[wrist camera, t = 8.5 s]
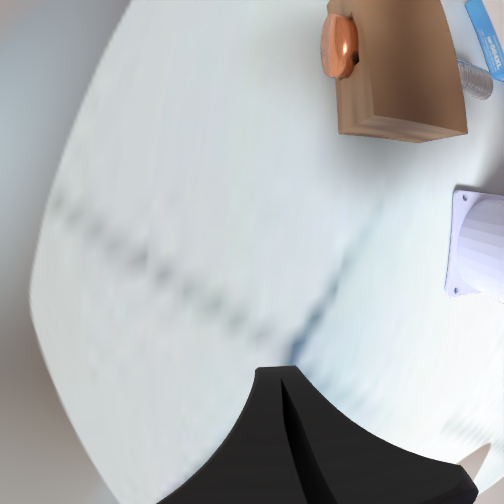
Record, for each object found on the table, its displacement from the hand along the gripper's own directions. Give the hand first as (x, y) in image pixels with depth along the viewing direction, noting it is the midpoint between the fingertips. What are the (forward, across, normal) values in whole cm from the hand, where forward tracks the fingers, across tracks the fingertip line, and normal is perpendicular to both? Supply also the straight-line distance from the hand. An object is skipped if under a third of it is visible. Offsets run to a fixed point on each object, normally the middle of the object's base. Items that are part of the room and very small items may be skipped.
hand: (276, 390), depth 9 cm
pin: (+9, -10, -15) cm, 20 cm away
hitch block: (+10, -8, -15) cm, 20 cm away
